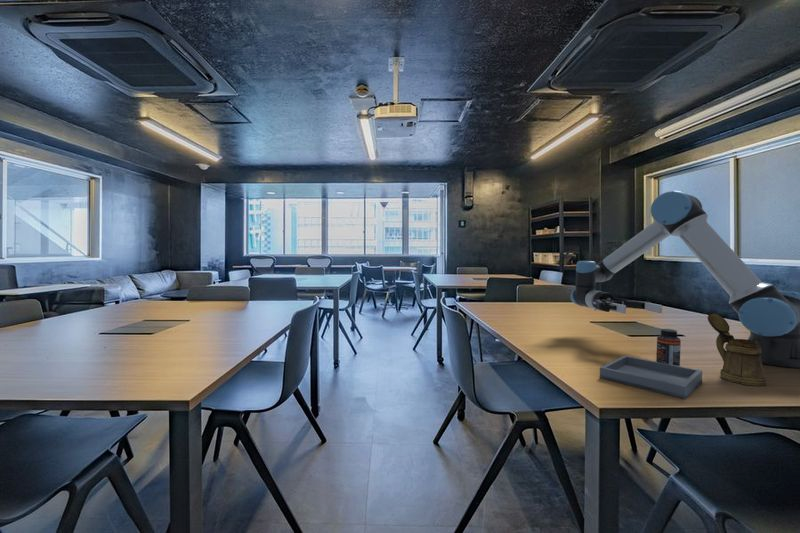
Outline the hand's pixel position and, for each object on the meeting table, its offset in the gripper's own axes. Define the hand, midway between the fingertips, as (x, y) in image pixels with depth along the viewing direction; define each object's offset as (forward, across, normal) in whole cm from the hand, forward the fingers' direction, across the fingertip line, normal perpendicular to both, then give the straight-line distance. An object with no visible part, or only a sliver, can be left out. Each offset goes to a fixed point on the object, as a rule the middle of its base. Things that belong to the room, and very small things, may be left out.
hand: (643, 309), depth 121 cm
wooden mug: (+22, -9, -16) cm, 29 cm away
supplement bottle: (+10, 0, -16) cm, 19 cm away
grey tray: (+21, +16, -16) cm, 31 cm away
